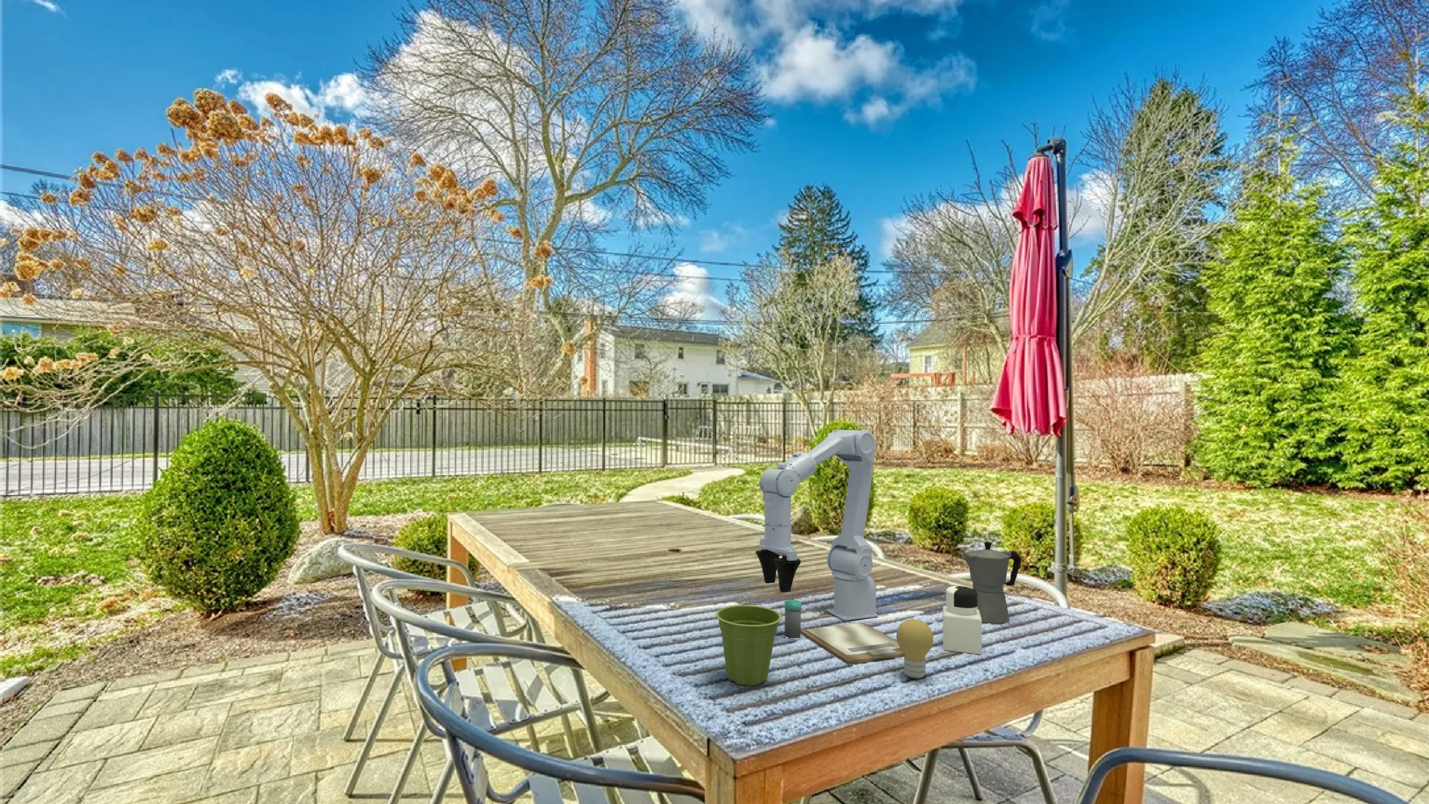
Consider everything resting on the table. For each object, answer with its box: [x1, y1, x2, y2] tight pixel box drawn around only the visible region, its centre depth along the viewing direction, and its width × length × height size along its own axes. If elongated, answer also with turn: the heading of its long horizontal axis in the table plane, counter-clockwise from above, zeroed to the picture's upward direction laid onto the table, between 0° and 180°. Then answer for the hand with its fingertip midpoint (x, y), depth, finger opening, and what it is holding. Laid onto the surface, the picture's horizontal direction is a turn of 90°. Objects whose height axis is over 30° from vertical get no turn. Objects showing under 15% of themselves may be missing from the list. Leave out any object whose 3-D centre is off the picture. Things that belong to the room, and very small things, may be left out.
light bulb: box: [896, 618, 934, 679], centre depth 113 cm, size 6×6×10 cm
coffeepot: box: [961, 541, 1022, 625], centre depth 148 cm, size 15×9×18 cm, turn 101°
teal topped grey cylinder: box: [783, 599, 802, 639], centre depth 133 cm, size 4×4×7 cm
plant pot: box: [715, 604, 783, 687], centre depth 111 cm, size 12×12×11 cm
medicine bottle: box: [942, 585, 983, 655], centre depth 128 cm, size 7×7×12 cm
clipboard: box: [801, 622, 905, 666], centre depth 129 cm, size 16×20×1 cm
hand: (777, 587), depth 135 cm, fingers open, 7 cm apart
